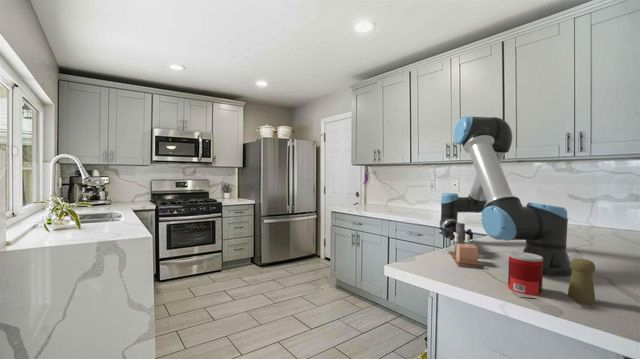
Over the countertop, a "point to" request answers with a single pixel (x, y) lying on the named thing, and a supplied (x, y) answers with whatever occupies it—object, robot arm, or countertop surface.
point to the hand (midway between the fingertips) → (462, 239)
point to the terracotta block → (466, 253)
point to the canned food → (525, 273)
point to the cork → (582, 281)
